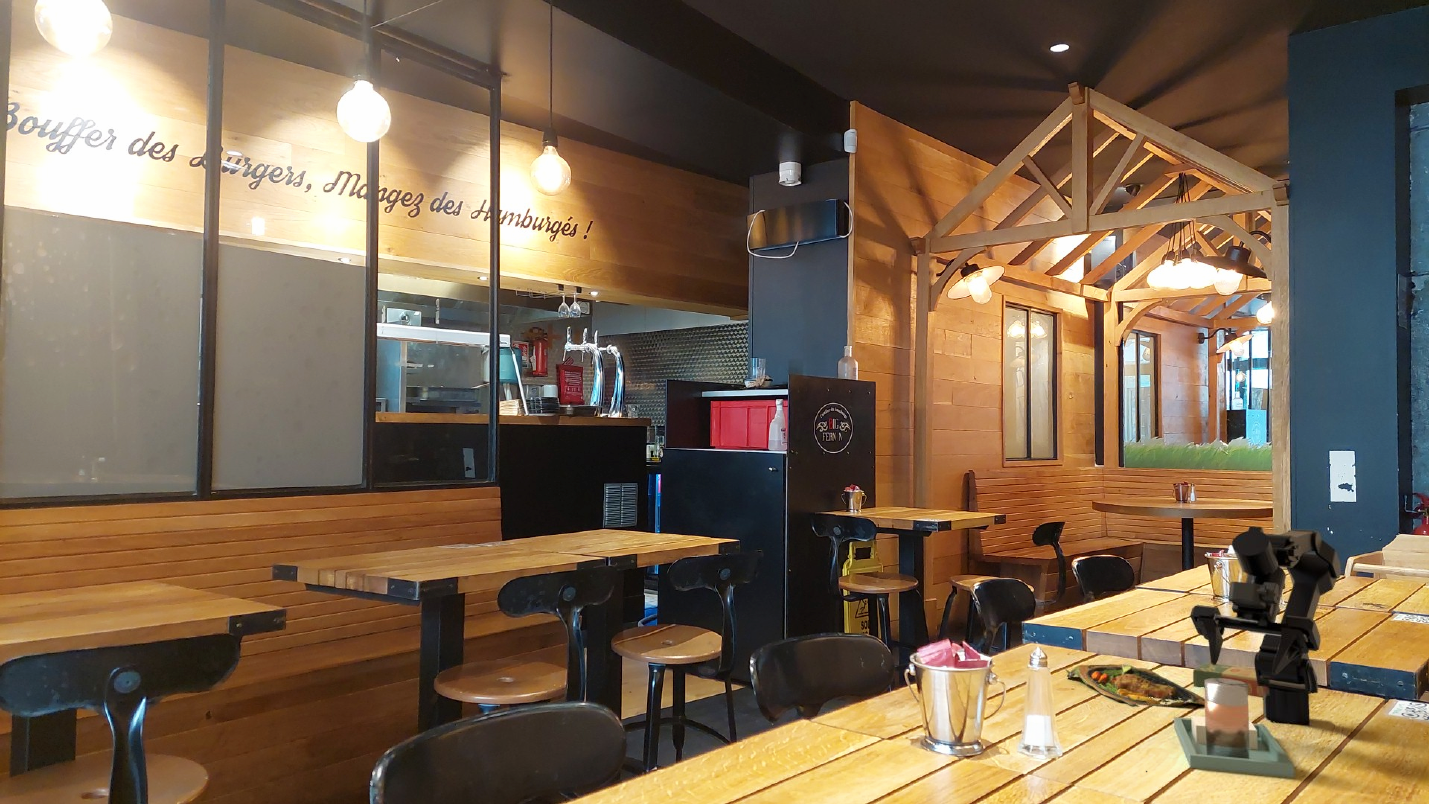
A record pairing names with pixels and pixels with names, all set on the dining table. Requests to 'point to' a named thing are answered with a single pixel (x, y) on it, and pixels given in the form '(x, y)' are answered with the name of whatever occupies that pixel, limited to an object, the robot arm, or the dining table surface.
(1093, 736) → the dining table surface
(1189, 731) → the tray
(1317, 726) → the dining table surface
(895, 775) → the dining table surface
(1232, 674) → the carton
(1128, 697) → the prepared meal
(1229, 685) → the tin can
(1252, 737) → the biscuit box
